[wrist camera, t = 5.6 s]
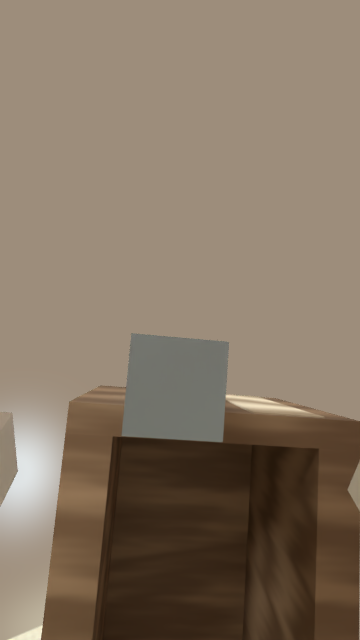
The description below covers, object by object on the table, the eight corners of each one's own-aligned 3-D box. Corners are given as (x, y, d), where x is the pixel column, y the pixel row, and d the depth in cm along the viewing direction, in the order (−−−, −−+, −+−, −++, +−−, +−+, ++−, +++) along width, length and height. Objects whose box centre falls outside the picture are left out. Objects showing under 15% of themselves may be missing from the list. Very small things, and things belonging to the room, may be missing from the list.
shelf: (355, 946, 20) (360, 420, 24) (1, 973, 18) (69, 400, 22) (263, 690, 36) (275, 397, 40) (67, 691, 34) (100, 384, 38)
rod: (222, 442, 14) (229, 341, 14) (121, 436, 13) (131, 333, 14) (172, 391, 38) (175, 355, 39) (136, 388, 38) (140, 352, 39)
